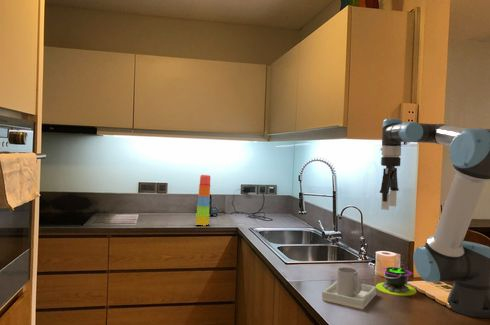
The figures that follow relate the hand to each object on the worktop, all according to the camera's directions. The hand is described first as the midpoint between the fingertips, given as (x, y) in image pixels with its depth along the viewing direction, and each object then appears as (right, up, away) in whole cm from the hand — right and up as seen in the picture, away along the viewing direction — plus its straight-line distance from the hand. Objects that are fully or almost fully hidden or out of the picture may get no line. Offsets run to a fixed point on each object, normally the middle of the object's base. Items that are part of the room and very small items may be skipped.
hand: (388, 207), depth 170 cm
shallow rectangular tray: (-21, -31, -19) cm, 42 cm away
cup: (-21, -30, -20) cm, 42 cm away
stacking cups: (-89, -25, +111) cm, 144 cm away
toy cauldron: (0, -31, -8) cm, 32 cm away
